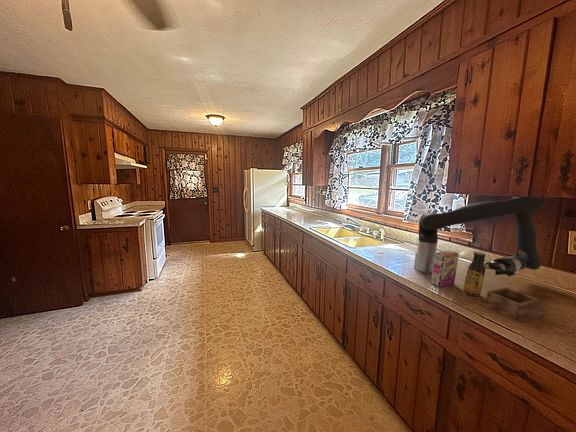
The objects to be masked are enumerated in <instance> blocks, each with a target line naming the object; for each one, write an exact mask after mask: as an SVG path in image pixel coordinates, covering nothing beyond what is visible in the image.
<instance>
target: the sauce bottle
mask: <svg viewBox="0 0 576 432" xmlns="http://www.w3.org/2000/svg"><path fill="white" fill-rule="evenodd" d="M486 256H487V255H486V253H485V252H481V251H474V252H473V259H472V261H471V263H470V264H469V265H468V268H467V272H466V275H465V281H464V286H463V292H464V293H465V294H466V295H468V296H471V297H480V295H481V294H482V290H483V289H482V288H483V284H484V280H485V276H486V275H485V273H486V269H485V267H484V264H483V263H484V259H485V258H486Z"/></svg>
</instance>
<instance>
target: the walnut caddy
mask: <svg viewBox="0 0 576 432" xmlns="http://www.w3.org/2000/svg"><path fill="white" fill-rule="evenodd" d="M541 300H542V299H539V298H537V297H533V296H531V295H529V294H525V293H523V292H520V291H517V290H514V289H512V288H509V287H506V286H505V287H500V288H498V289H493V290H489V291H487V293H486V298H485V300H482V301H480V305H482V306H484V307H486V308H489V309H491V310H494V311H496V312H497V313H500V314H502V315H505V316H506V317H509V318H511V319H512V320H515V321H518V322H520V323H522V324H524V323H526V322H529V321H532V320H535V319H537V318H540V317H543V316H544V312H543V311H540V304H541Z"/></svg>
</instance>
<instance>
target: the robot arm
mask: <svg viewBox="0 0 576 432" xmlns="http://www.w3.org/2000/svg"><path fill="white" fill-rule="evenodd" d="M546 200H547V199H546V198H545V197H544V198H534V197H513V196H512V198H510V199H506V200H505V199H504V200H490V201H489V200H488V201H479V202H474V203H470V204H466V205H463V206H460V207H458V208H456V209H453V210H450V211H446V212H441V213H440V212H439V213H434V212H431V211H429V212H427V211H426V212H425V213H423V214H422V215H421V216H420V217H419V224H418V242H417V251H416V252H415V255H414V263H413V268H414V269H415V270H416V271H417V272H421V273H425V274H432V269H433V262H434V254H435V252H437V249H438V243H439V242H438V240H439V236H438V230H440V229H444V228H447V227H451V226H454V225H456V226H457V225H462V224H468V223H474V222H478V221H479V222H480V221H485V220H491V219H494V218H499V217H503V216H508V215H512V214H513V215H514V217H515V227H516V228H515V229H516V248H517V249H518V250H519V251H521V252H515V253H513V255H511V256H504V257H498V258H495V259H494V260H492V261H487V260H486V259H485V258H484V263H483V264H484V267H485V270H492V271H495V273H494V275H496V276H500V275H501V276H505V275H506V276H507V277H513V276H516V275H517V272H518V271H522V270H524V269H528V270H533V271H535V270H538V269H540V267H541V266H542V259H541V257H540V254H539V251H538V248H537V231H536V228H535V225H534V221H533V218H532V213H533V212H536V211H539V210H541V209H542V208H544V207H545V205H546V202H547V201H546ZM522 252H524V253H522Z"/></svg>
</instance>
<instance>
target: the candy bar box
mask: <svg viewBox="0 0 576 432" xmlns="http://www.w3.org/2000/svg"><path fill="white" fill-rule="evenodd" d="M459 254H460V253H459V252H456V251H452V250H444V251H436V252H435V254H434V262H433V269H432V273H431V277H430V284H431V285H433V286H435V287H437V288H442V287H446V286H451V285H455V280H456V273H457V269H458V268H457V267H458V262H459Z"/></svg>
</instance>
